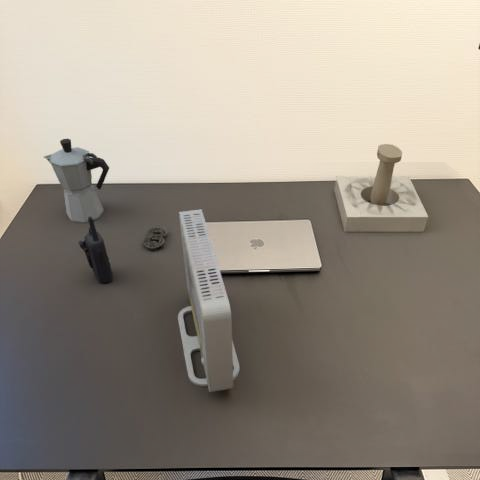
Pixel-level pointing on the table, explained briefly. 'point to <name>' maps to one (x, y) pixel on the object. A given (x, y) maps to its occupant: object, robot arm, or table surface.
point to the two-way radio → (96, 254)
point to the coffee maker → (78, 180)
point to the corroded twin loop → (155, 237)
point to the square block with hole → (379, 217)
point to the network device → (206, 307)
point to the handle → (384, 173)
